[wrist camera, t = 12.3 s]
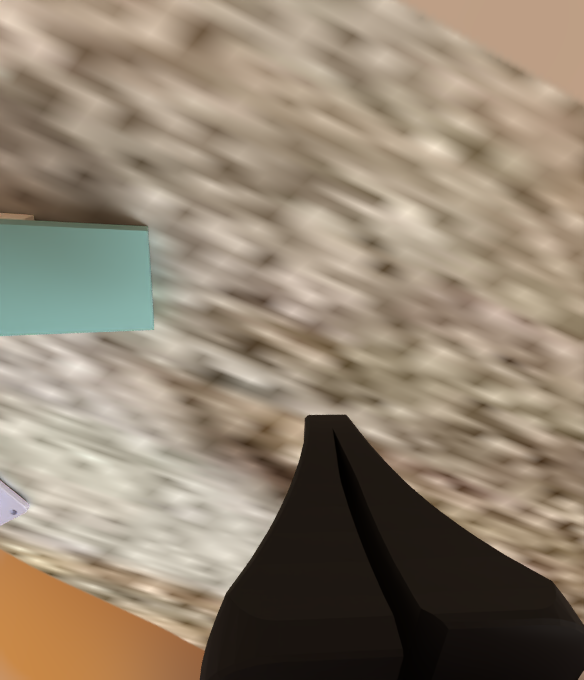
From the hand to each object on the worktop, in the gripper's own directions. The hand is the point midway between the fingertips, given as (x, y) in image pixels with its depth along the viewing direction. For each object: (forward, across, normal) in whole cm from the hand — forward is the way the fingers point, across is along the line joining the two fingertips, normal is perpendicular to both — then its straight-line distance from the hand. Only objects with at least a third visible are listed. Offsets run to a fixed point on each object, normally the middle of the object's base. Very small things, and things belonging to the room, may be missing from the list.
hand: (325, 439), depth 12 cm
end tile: (+9, +8, -3) cm, 12 cm away
